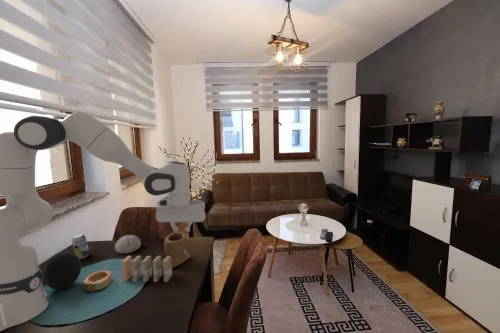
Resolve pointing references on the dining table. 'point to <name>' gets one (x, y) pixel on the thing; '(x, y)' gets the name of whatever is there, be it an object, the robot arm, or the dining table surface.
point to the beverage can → (80, 246)
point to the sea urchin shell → (127, 244)
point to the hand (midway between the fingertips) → (181, 231)
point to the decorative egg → (62, 270)
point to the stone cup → (176, 248)
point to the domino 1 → (127, 268)
